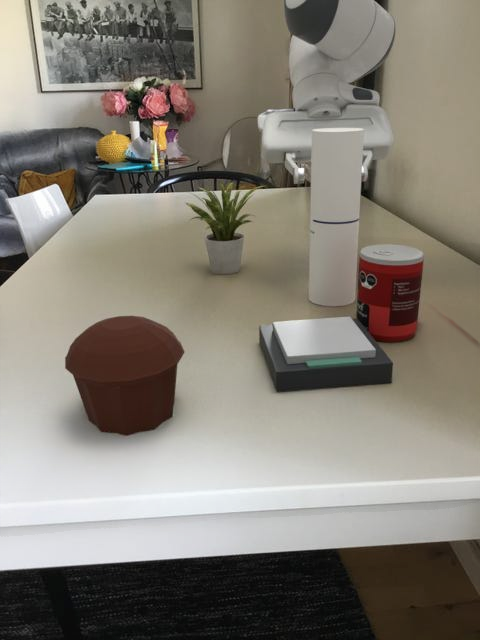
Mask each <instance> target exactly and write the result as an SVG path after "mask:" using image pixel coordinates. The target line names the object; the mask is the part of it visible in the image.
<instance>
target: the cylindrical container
mask: <svg viewBox="0 0 480 640" xmlns="http://www.w3.org/2000/svg"><path fill="white" fill-rule="evenodd" d="M363 138H364V129H361V128H322V129H314V130H312V153H311V162H310V164H311V165H310V207H309V208H310V210H309V211H310V212H309V213H310V216H309V219H310V220H309V259H308V260H309V263H308V264H309V265H308V300H309V301H310V302H311V303H313V304H314V305H317V306H318V305H319V306H323V307H343V306H344V307H345V306H348V305H351V304H353V303H354V302H355V301H356V290H357V289H356V288H357V271H358V270H357V268H358V250H359V231H360V212H361V210H360V209H361V192H362V181H361V175H362V165H363V164H362V156H363Z"/></svg>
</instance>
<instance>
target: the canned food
mask: <svg viewBox="0 0 480 640" xmlns="http://www.w3.org/2000/svg"><path fill="white" fill-rule="evenodd" d="M424 255H425V253H424V252H423V251H422V250H421V249H418V248H416V247H413V246H409V245H403V244H392V243H388V244H387V243H382V244H372V245H367V246H364V247H362V248H361V249H360V251H359V257H358V258H359V259H358V275H357V295H356V313H355V319H358V320H359V321H360V322H361V324H362V325H363V326H364V327H365V329H366V330H367V331H368V332H369V334H370V335H371V336H372V337H373V338H374V340H375V341H378V342H385V343H387V342H388V343H398V342H403V341H407V340H410V339H411V338H413V337H414V335H415V334H416V332H417V328H418V321H419V320H418V319H419V311H420V301H421V293H422V292H421V291H422V282H423V281H422V280H423V272H424V260H425V258H424V257H425V256H424Z"/></svg>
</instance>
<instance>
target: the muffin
mask: <svg viewBox="0 0 480 640" xmlns="http://www.w3.org/2000/svg"><path fill="white" fill-rule="evenodd" d="M184 354H185V349H184V347H183V345H182V343H181V341H180V340H179V339H178V338H177V336H176V335H175V333H174V332H173V331H172V330H171V329H170V328H169V327H167V326H165V325H164V324H161V323H159V322H157V321H154V320H152V319H150V318H147V317H145V316H139V315H138V316H137V315H117V316H113V317H108V318H105V319H102V320H99V321H98V322H95V323H93V324H92V325H89V327H87V328H86V329H85V330H83V331H82V332H81V333H80V334H79V335H78V336H77V337H76V338H75V339H74V340H73V341H72V343H71V344H70V346H69V348H68V351H67V353H66V356H65V357H64V368H65V370H66V371H68V373H70V374H71V375H72V376H73V379H74V382H75V385H76V387H77V391H78V393H79V396H80V400H81V402H82V405H83V408H84V411H85V414H86V416H87V420H88V421H89V422H90V423H92V425H94V426H95V427H96V428H97V429H98V430H99V432H100V433H105V434H106V433H107V434H116V435H121V436H126V437H128V436H131V435H135V434H139V433H143V432H148V431H153V430H156V429H157V428H158V427H159V426H160V425H162V424H163V423H164V422H166V421H168V420H170V419H171V418H173V414H174V405H175V399H176V387H177V375H178V365H179V363H180V361H181V359H182V357H183V356H184Z"/></svg>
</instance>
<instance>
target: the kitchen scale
mask: <svg viewBox="0 0 480 640" xmlns="http://www.w3.org/2000/svg"><path fill="white" fill-rule="evenodd" d="M258 336H259V337H258V338H259V340H258V341H259V346H260V349H261V351H262V354H263V357H264V361H265V363H266V366H267V369H268V371H269V375H270V378H271V380H272V383H273V386H274V390H275V392H276V393H282V392H294V391H306V390H307V391H308V390H317V389H318V390H319V389H331V388H343V387H355V386H356V387H357V386H367V385H378V384H379V385H380V384H391V383H392V381H393V370H394V369H393V368H394V362H393V361H392V359H391V358H390V356H388V354H387V353H386V352H385V350H383V348H382V347H381V346H380V345H379V343H378V342H377V340H374V338H373V337H372V336H371V335H370V334H369V332H368V331H367V330H366V329H365V327H364V326H363V325H362V324H361V322H360V321H359V320H358V319H356V318H352V317H351V316H338V317H325V318H323V317H322V318H310V319H296V320H281V321H272V324H261V325H258Z"/></svg>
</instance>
